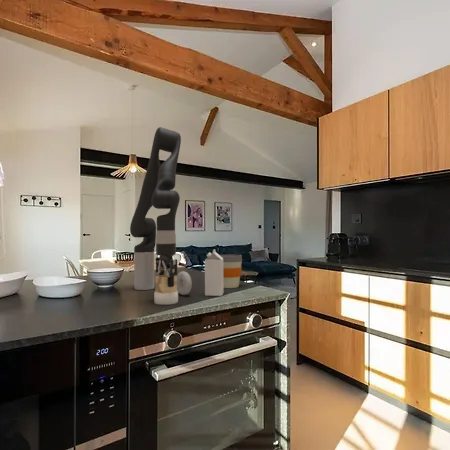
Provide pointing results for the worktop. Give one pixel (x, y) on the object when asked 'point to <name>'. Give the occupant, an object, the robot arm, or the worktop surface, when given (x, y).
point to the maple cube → (165, 284)
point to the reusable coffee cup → (231, 270)
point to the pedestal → (165, 298)
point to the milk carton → (214, 275)
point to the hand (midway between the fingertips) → (166, 285)
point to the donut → (187, 285)
